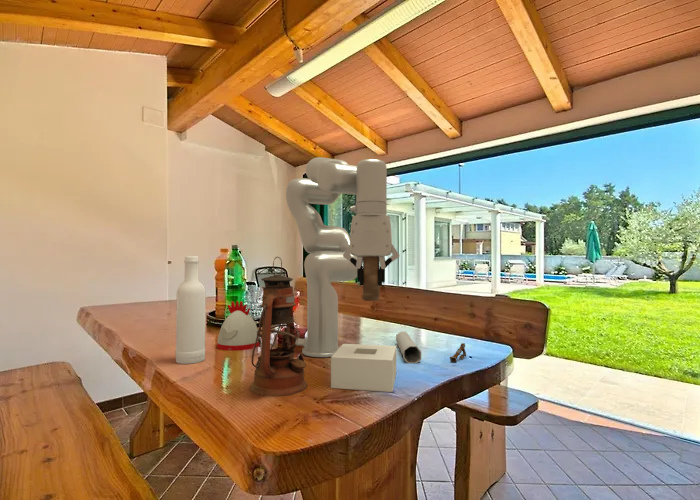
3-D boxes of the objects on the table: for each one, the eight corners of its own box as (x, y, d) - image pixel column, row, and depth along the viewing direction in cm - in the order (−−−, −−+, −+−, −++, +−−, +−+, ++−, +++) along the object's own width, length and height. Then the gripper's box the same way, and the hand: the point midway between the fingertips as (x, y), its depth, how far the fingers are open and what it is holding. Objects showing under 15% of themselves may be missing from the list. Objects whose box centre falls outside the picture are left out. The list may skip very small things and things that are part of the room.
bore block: (330, 387, 88) (331, 357, 88) (343, 370, 102) (343, 343, 102) (392, 392, 86) (392, 360, 86) (396, 373, 99) (396, 346, 100)
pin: (362, 300, 93) (362, 251, 93) (363, 298, 97) (364, 251, 97) (378, 301, 93) (378, 251, 93) (379, 299, 97) (379, 251, 97)
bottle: (170, 360, 111) (172, 256, 112) (197, 355, 117) (198, 256, 117) (182, 365, 106) (184, 256, 106) (210, 360, 111) (211, 256, 112)
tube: (392, 332, 134) (400, 348, 109) (407, 327, 134) (418, 343, 109) (397, 347, 134) (406, 367, 109) (411, 342, 134) (424, 361, 109)
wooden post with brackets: (469, 354, 116) (466, 341, 115) (458, 370, 110) (455, 357, 109) (463, 353, 117) (461, 340, 116) (452, 369, 112) (449, 356, 110)
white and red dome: (232, 340, 138) (232, 298, 139) (267, 342, 135) (267, 299, 135) (208, 349, 125) (208, 302, 125) (246, 352, 121) (246, 304, 122)
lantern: (290, 402, 80) (291, 256, 80) (234, 396, 83) (235, 256, 83) (318, 377, 96) (318, 256, 97) (270, 373, 99) (271, 256, 100)
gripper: (335, 209, 93) (334, 285, 93) (405, 208, 90) (405, 286, 90) (340, 212, 100) (340, 283, 100) (405, 212, 98) (405, 284, 98)
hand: (371, 284), depth 95 cm, fingers closed on pin, 4 cm apart
